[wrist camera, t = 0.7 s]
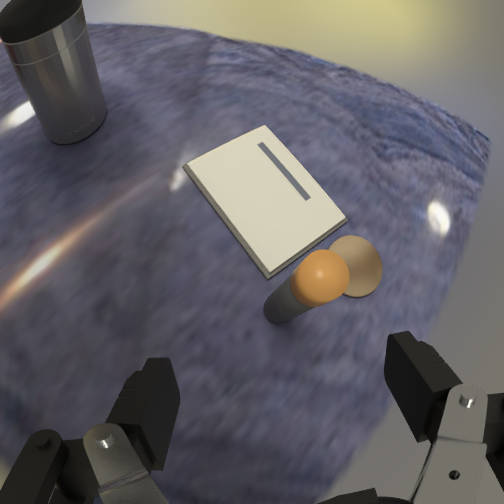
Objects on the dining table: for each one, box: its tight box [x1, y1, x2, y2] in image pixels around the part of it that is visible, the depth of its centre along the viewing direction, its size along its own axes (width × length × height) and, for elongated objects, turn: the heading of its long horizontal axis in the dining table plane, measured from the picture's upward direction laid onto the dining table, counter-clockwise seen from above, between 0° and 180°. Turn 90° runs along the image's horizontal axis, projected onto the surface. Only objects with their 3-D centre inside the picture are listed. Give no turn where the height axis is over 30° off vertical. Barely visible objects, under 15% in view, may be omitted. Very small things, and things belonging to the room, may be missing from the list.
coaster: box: [328, 235, 382, 297], centre depth 35 cm, size 7×7×1 cm
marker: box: [264, 250, 349, 323], centre depth 26 cm, size 3×3×14 cm
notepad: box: [182, 125, 348, 280], centre depth 36 cm, size 16×12×1 cm
